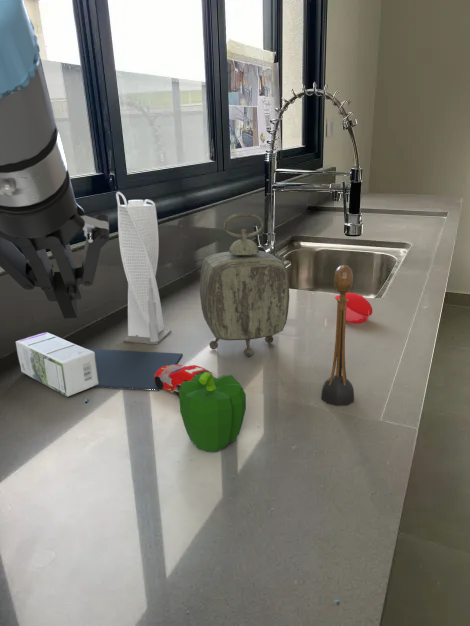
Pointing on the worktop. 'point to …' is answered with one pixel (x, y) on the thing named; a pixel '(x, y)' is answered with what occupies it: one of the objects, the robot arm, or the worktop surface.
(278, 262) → the tabletop clock
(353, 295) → the cap
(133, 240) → the skyscraper
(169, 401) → the worktop surface
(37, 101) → the robot arm
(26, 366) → the syrup box
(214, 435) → the bell pepper
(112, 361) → the mat
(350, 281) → the wooden tabletop sculpture
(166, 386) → the race car
